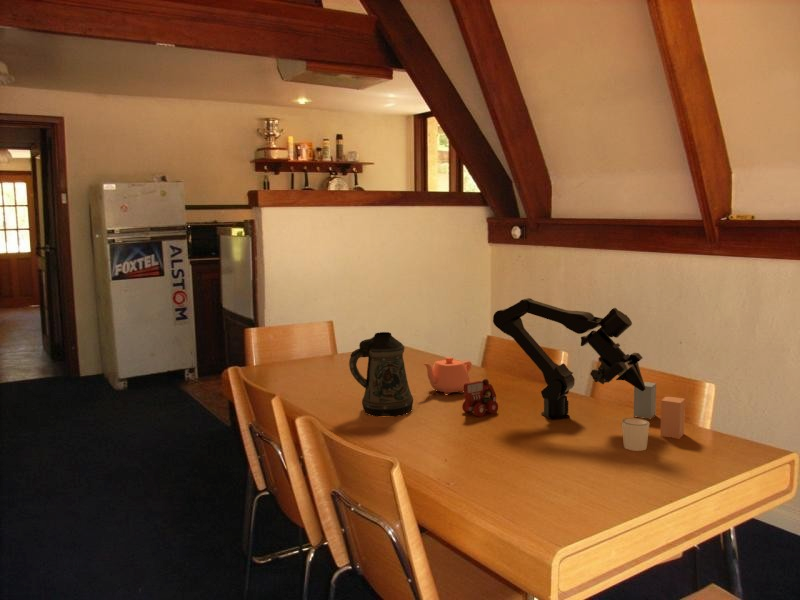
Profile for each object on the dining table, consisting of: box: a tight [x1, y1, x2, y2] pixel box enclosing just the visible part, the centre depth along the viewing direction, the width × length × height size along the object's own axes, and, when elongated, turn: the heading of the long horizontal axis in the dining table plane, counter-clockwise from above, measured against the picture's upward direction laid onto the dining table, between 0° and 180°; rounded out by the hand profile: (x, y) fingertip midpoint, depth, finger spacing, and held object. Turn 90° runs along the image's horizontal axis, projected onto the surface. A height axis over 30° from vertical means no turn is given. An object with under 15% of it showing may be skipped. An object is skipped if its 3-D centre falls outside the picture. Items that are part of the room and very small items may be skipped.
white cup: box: [621, 417, 650, 452], centre depth 178 cm, size 7×7×7 cm
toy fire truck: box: [461, 378, 499, 418], centre depth 212 cm, size 7×12×10 cm, turn 124°
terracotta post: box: [659, 396, 686, 440], centre depth 187 cm, size 5×5×10 cm
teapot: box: [422, 356, 472, 395], centre depth 239 cm, size 13×20×12 cm, turn 118°
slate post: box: [633, 381, 657, 419], centre depth 205 cm, size 5×5×10 cm
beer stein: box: [348, 331, 414, 417], centre depth 215 cm, size 16×19×25 cm
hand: (644, 390), depth 191 cm, fingers closed
